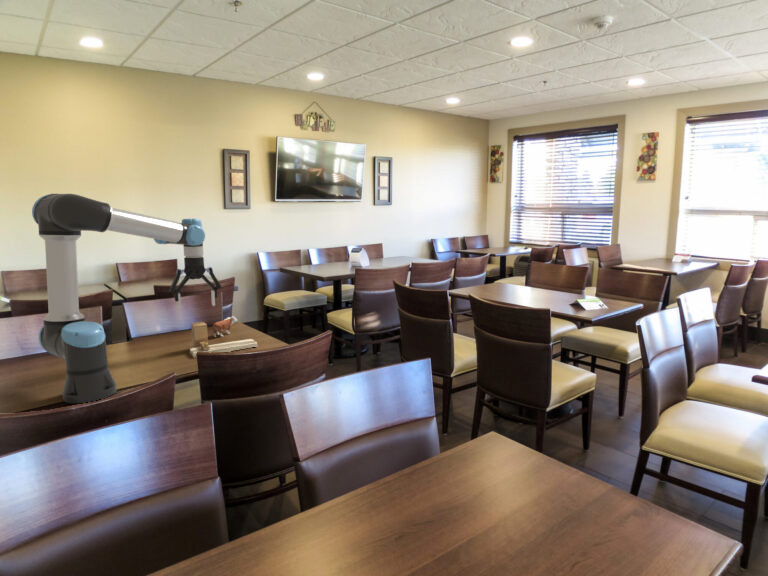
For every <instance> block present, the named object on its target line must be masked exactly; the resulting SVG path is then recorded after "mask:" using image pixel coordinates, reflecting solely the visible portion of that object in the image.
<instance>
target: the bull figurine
mask: <svg viewBox="0 0 768 576" xmlns="http://www.w3.org/2000/svg"><path fill="white" fill-rule="evenodd" d="M234 323H238V319H237V318H236V317H235V316H234V315H232V316H230V317H229V316H228V317H226V318H225V319H223V320H221V321H217V322H214V323H213V324H212V328H213V331H212V332H213V337H214V338H217V335H218V336H220V337H225V336H224V334H222V332H223V331H225V334H227V335H231V333H230V331H231V327H232V326H233V324H234ZM216 333H217V335H216Z"/></svg>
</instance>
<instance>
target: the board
mask: <svg viewBox="0 0 768 576" xmlns="http://www.w3.org/2000/svg"><path fill="white" fill-rule="evenodd" d="M258 345H259V344H258V342H257V341H255V340H254V339H253V338H247V339H240V340H234V341H227V342H220V343H216V344H215V343H213V344H210V345H209V344H208V346H209V350H205V351H204V350H203V349H202V348H201V347H196V348H193V347H191V348H189V353H190V355H191V356H192V357H193V358H194V359H197V358H196V353H197V352H209V353H211V352H228V353H232V352H231V351H233V350H239V349H245V348H251V347H257V348H258V347H259V346H258ZM251 349H252V348H251Z"/></svg>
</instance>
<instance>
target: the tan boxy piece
mask: <svg viewBox="0 0 768 576" xmlns="http://www.w3.org/2000/svg"><path fill="white" fill-rule="evenodd" d="M190 325H191V339H192V340H191V341H192V348H196V347H201V348H202V349H203V350H204V351H205V350H209V346H208V345H209V337H208V336H209V335H208V325H207V323H205V322H204V321H198V322H191V323H190Z"/></svg>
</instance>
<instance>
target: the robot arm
mask: <svg viewBox="0 0 768 576" xmlns="http://www.w3.org/2000/svg"><path fill="white" fill-rule="evenodd" d="M31 215H32V219H33V220H34V222H35V223H36V224H37V225H38V236H39V238H42V240H43V241H44V246H45V247H44V249H45V264H46V265H45V266H46V268H45V269H46V288H47V290H46V291H47V304H48V305H47V307H48V313H47V314H46V315H45V316H44V317H43V319H42V320H43V326H42V327H41V328H40V330H39V333H38V341H39V345H40V346H41V347H42V349H43V350H44V351H45V352H47V353H48V354H50V355H52V356H55V357H58V358H61V359H64V362H65V363H64V364H65V370H66V371H65V372H66V378H65V382H64V384H63V390H62V400H63V401H64V402H65V403H68V404H87V403H86V402H88V403H92V402H91V401H94V402H97V401H96V400H98V401H100V400H99V399H101V400H103V399H106V398H109V397H111V396H113V395H115V393H117V391H118V390H117V383H116V380H115V378H114V377H113V375H112V374H111V371H110V369H109V363H108V361H109V360H108V354H107V343H106V333H105V330H104V327H103V325H102V324H100V323H98V322H95V321H86V320H85V319H86V318H85V315H84V314H83V313H82V312H80V305H79V304H80V302H79V283H78V282H79V281H78V279H79V277H78V276H79V275H78V260H77V257H78V255H77V240H79V239H80V238H81V236H82V231H88V232H97V233H98V232H99V233H104V232H106V231H109V232H116V233H121V234H126V235H132V236H138V237H143V238H149V239H152V240H153V241H154V242H155V243H156V244H157V245H158V244H159V245H180V246H181V245H182V246H183V256H184V258H183V259H184V260H183V261H184V269H181V268H180V269H179V268H176V273H175V275H174V278H173V280H172V283H171V285H170V288H169V290H168V291H169V292H170V293H172V294H173V295H174V296H173V297H174V301H175V302H177V309H178V310H182V301H181V293H180V291H181V290H182V289H183V287H184V286H185V284H187V282H188V281H189V280H200V279H202V280H203V281H204V282H205V283H206V284H207V285H208V286H209V287H210V288H211V290H210V294H211V296H210V297H211V299H210V300H211V306H213V307H215V306H216V298H218V292H217V291H218V290H219V289H221V288H222V286H221V284H220V282H219V280H218V278H217V277H216V275H215V273H214V270H213V268H212V267H211V266H209V267H205V259H204V245H203V244H204V241H205V239H206V232H205V231H204V229H203V224H202V220H201V219H200V218H183V219H181V222H178V221H173V220H167V219H164V218H160V217H155V216H151V215H146V214H141V213H137V212H133V211H129V210H124V209H120V208H116V207H112V206H111V204H109V203H107V202H102V201H99V200H96V199H92V198H89V197H86V196H82V195H79V194H74V193H50V194H49V193H48V194H46V195H43V196H41V197H39V198H38V199H37V200H36V201H35V202H34V203H33V205H32V210H31ZM206 272H207V273H208V274H209V277H210V278H211V279H212V281H213V283H214V284H213V283H212V281H210V280H209V279H208V278H207V277H206V275H205V273H206ZM183 273H184V274H185V276H183V279H182V280H181V281H180V283H179V280H180V278H181V275H183Z"/></svg>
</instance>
